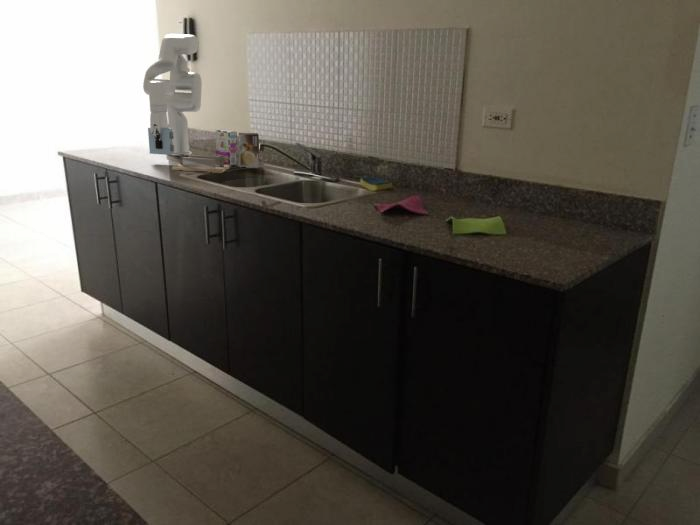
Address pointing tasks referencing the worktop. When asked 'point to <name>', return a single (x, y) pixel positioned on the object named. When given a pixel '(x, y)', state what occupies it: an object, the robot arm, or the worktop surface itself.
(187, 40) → the robot arm
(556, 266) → the worktop surface
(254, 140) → the coffee box
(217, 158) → the clear rectangular tray
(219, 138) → the candy bar box
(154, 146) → the door panel
